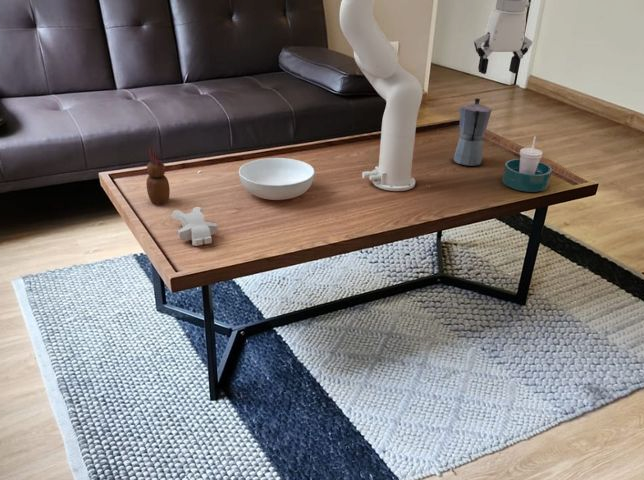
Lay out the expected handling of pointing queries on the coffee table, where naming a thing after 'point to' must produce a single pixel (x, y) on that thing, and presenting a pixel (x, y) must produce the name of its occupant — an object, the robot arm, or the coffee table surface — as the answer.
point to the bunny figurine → (195, 227)
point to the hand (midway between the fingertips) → (497, 72)
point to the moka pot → (471, 133)
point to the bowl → (526, 177)
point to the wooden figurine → (157, 181)
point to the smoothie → (529, 159)
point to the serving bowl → (276, 178)
